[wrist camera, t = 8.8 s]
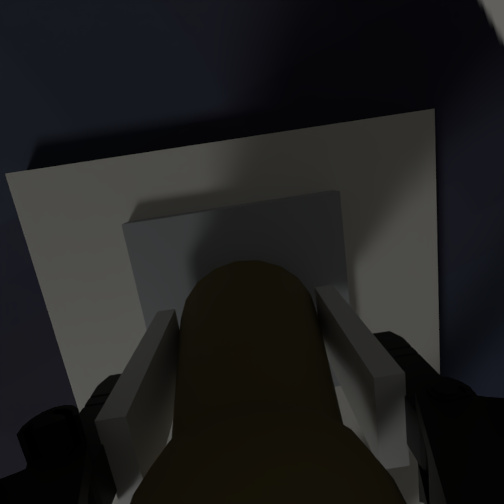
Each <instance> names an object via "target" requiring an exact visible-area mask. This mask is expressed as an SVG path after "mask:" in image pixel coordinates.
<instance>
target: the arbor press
mask: <svg viewBox="0 0 504 504" xmlns="http://www.w3.org/2000/svg"><path fill="white" fill-rule="evenodd" d="M5 175H6V178H7V181H8V184H9V188H10V191H11V194H12V197H13V201H14V204H15V207H16V210H17V213H18V217H19V220H20V223H21V226H22V229H23V233H24V236H25V239H26V242H27V246H28V249H29V252H30V255H31V258H32V262H33V265H34V268H35V271H36V274H37V278H38V281H39V284H40V287H41V291H42V294H43V297H44V300H45V303H46V307H47V310H48V313H49V316H50V319H51V323H52V326H53V329H54V332H55V335H56V339H57V342H58V345H59V348H60V352H61V355H62V358H63V361H64V364H65V368H66V371H67V374H68V377H69V380H70V384H71V387H72V390H73V393H74V397H75V400H76V403H77V406H78V409H79V413H80V412H81V410H82V409H83V408H84V407H85V404H86V402H87V401H88V399H89V398H91V395H92V393H93V392H94V390H95V389H96V387H97V386H98V385H99V384H100V383H101V382H102V381H104V380H105V379H106V378H107V377H108V376H109V375H115V374H122V372H123V371H124V369H125V367H126V365H127V364H128V362H129V360H130V358H131V357H132V355H133V353H134V351H135V350H136V348H137V346H138V345H139V343H140V341H141V339H142V338H143V336H144V334H145V332H146V331H147V329H148V327H149V325H150V324H151V322H152V320H153V318H154V317H155V315H156V313H157V311H164V310H170V309H175V311H176V315H177V320H178V325H179V329H180V321H181V316H182V312H183V308H184V305H185V301H186V299H187V297H188V296H189V294H190V293H191V291H192V290H193V288H194V287H195V285H196V284H197V282H198V281H200V280H201V279H202V278H204V277H205V276H206V275H207V274H209V273H210V272H211V271H213V270H214V269H216V268H218V267H221V266H224V265H227V264H229V263H232V262H235V261H251V260H260V261H263V262H267V263H271V264H274V265H278V266H281V267H282V268H284V269H285V270H287V271H288V272H290V273H291V274H293V275H294V276H296V277H298V278H299V280H300V281H301V282H302V284H303V285H304V286H305V287H306V289H307V290H308V291H309V293H310V294H311V296H312V299H313V302H314V305H315V308H316V311H317V304H316V295H315V287H320V286H326V285H333V286H334V287H335V289H336V290H337V291H338V292H339V294H340V295H341V296H342V297H343V298H344V300H345V301H346V302H347V303H348V304H349V306H350V307H351V308H352V309H353V310H354V312H355V313H356V314H357V315H358V317H359V318H360V319H361V320H362V321H363V323H364V324H365V325H366V326H367V327H368V329H369V330H370V331H371V332H372V333H380V332H386V331H391V332H393V333H395V334H397V335H399V336H401V337H403V338H404V339H405V340H406V341H407V342H408V343H409V344H410V345H411V347H413V348H414V349H415V350H416V351H417V352H418V354H420V355H421V356H422V357H423V358H424V359H425V360H426V361H427V362H428V363H429V364H430V365H431V366H432V367H433V368H434V369H435V370H436V371H437V373H438V374H439V375H440V351H439V301H438V251H437V202H436V152H435V109H428V110H422V111H415V112H409V113H402V114H395V115H389V116H382V117H376V118H369V119H362V120H356V121H349V122H343V123H336V124H330V125H323V126H316V127H310V128H303V129H297V130H290V131H283V132H277V133H270V134H264V135H257V136H251V137H244V138H237V139H231V140H224V141H218V142H211V143H204V144H198V145H191V146H185V147H178V148H172V149H165V150H158V151H152V152H145V153H139V154H132V155H125V156H119V157H112V158H106V159H99V160H92V161H86V162H79V163H73V164H66V165H60V166H53V167H46V168H40V169H33V170H27V171H20V172H13V173H7V174H5ZM317 315H318V313H317ZM328 361H329V360H328ZM329 366H330V370H331V374H332V378H333V383H334V387H335V391H336V395H337V399H338V404H339V408H340V412H341V416H342V421H343V425H345V426H347V427H348V428H350V429H352V431H353V432H354V433H355V434H356V435H357V436H358V437H359V438H360V440H361V441H362V442H363V443H364V444H365V445H366V446H367V448H368V449H369V450H370V451H371V449H370V447H369V445H368V442H367V440H366V438H365V436H364V434H363V432H362V430H361V428H360V426H359V423H358V421H357V419H356V417H355V415H354V413H353V411H352V409H351V407H350V405H349V402H348V400H347V398H346V396H345V394H344V392H343V390H342V388H341V386H340V384H339V381H338V379H337V377H336V375H335V373H334V371H333V369H332V367H331V365H330V362H329ZM172 426H173V422H172V425H171V429H170V433H169V437H168V441H167V444H168V443H169V441H170V440H171V439H172ZM167 444H166V445H167ZM371 452H372V451H371ZM386 470H387V471H388V472H389V474H390V475H391V476H392V477H393V479H394V480H395V482H396V484H397V486H398V488H399V490H400V492H401V494H402V496H403V497H404V499H405V501H406V503H407V504H424V503H422V502H419V481H418V461H417V460H416V458H415V457H414V455H413V453H412V452H411V450H410V448H409V466H403V467H397V468H390V469H386ZM112 504H119V501H118V498H117V495H115V497H114V500H113V503H112Z"/></svg>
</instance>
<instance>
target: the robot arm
mask: <svg viewBox="0 0 504 504" xmlns="http://www.w3.org/2000/svg"><path fill="white" fill-rule="evenodd" d="M315 295H316V304H317V313H318V319H319V323H320V327H321V332H322V336H323V340H324V344H325V349H326V353H327V357H328V360H329V362H330V365H331V367H332V369H333V371H334V373H335V375H336V377H337V379H338V381H339V384H340V386H341V388H342V390H343V392H344V394H345V396H346V398H347V400H348V402H349V405H350V407H351V409H352V411H353V413H354V415H355V417H356V419H357V421H358V423H359V426H360V428H361V430H362V432H363V434H364V436H365V438H366V440H367V442H368V445H369V447H370V449H371V451H372V453H373V455H374V456H375V457H376V458H377V459H378V461H379V462H380V463H381V464H382V465H383V466H384V468H385V469H390V468H397V467H403V466H409V448H410V450H411V452H412V453H413V455H414V457H415V458H416V460H417V461H418V481H419V502H422V503H424V504H504V398H494V397H484V396H477V395H476V393H475V392H474V391H473V390H472V389H471V388H470V387H469V386H468V385H466V384H464V383H463V382H461V381H458V380H455V379H452V378H449V377H441V376H440V375H439V374H438V373H437V371H436V370H435V369H434V368H433V367H432V366H431V365H430V364H429V363H428V362H427V361H426V360H425V359H424V358H423V357H422V356H421V355H420V354H418V352H417V351H416V350H415V349H414V348H413V347H411V345H410V344H409V343H408V342H407V341H406V340H405V339H404V338H403V337H401V336H399V335H397V334H395V333H393V332H391V331H386V332H380V333H372V332H371V331H370V330H369V329H368V327H367V326H366V325H365V324H364V323H363V321H362V320H361V319H360V318H359V317H358V315H357V314H356V313H355V312H354V310H353V309H352V308H351V307H350V306H349V304H348V303H347V302H346V301H345V300H344V298H343V297H342V296H341V295H340V294H339V292H338V291H337V290H336V289H335V287H334V286H333V285H326V286H320V287H315ZM179 334H180V329H179V325H178V320H177V315H176V311H175V309H170V310H164V311H157V313H156V315H155V317H154V318H153V320H152V322H151V324H150V325H149V327H148V329H147V331H146V332H145V334H144V336H143V338H142V339H141V341H140V343H139V345H138V346H137V348H136V350H135V351H134V353H133V355H132V357H131V358H130V360H129V362H128V364H127V365H126V367H125V369H124V371H123V372H122V374H115V375H109V376H108V377H107V378H106V379H105V380H104V381H102V382H101V383H100V384H99V385H98V386H97V387H96V389H95V390H94V392H93V393H92V395H91V398H89V399H88V401H87V402H86V404H85V407H84V408H83V409H82V410H81V412H80V413H79V410H78V408H76V407H75V406H73V405H63V406H58V407H54V408H52V409H49V410H47V411H44V412H42V413H40V414H39V415H37V416H35V417H34V418H32V419H31V420H29V421H28V422H27V423H26V424H25V425H24V426H22V428H21V429H20V431H19V432H18V433H17V437H18V440H19V443H20V445H21V448H22V451H23V453H24V456H25V459H26V462H27V467H26V469H25V470H22V471H20V472H17V473H15V474H12V475H10V476H7V477H4V478H2V479H0V504H112V503H113V500H114V497H115V495H117V498H118V501H119V504H130V502H131V499H132V496H133V494H134V492H135V491H136V489H137V488H138V486H139V485H140V483H141V481H142V480H143V478H144V477H145V475H146V474H147V472H148V470H149V469H150V467H151V466H152V465H153V463H154V462H155V461H156V459H157V458H158V456H159V455H160V454H161V452H162V451H163V449H164V448H165V447H166V444H167V441H168V437H169V433H170V429H171V425H172V422H173V412H174V399H175V386H176V373H177V360H178V347H179Z"/></svg>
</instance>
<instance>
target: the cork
mask: <svg viewBox="0 0 504 504" xmlns="http://www.w3.org/2000/svg"><path fill="white" fill-rule="evenodd" d="M130 504H407V503H406V501H405V499H404V497H403V496H402V494H401V492H400V490H399V488H398V486H397V484H396V482H395V480H394V479H393V477H392V476H391V475H390V474H389V472H388V471H387V470H386V469H385V468H384V466H383V465H382V464H381V463H380V462H379V461H378V459H377V458H376V457H375V456H374V455H373V453H372V452H371V451H370V450H369V449H368V448H367V446H366V445H365V444H364V443H363V442H362V441H361V440H360V438H359V437H358V436H357V435H356V434H355V433H354V432H353V431H352V429H350V428H348V427H347V426H345V425H343V421H342V416H341V412H340V408H339V404H338V399H337V395H336V391H335V387H334V383H333V378H332V374H331V370H330V366H329V361H328V357H327V353H326V349H325V344H324V340H323V336H322V332H321V327H320V323H319V319H318V315H317V311H316V308H315V305H314V302H313V299H312V296H311V294H310V293H309V291H308V290H307V289H306V287H305V286H304V285H303V284H302V282H301V281H300V280H299V278H298V277H296V276H294V275H293V274H291V273H290V272H288V271H287V270H285V269H284V268H282V267H281V266H278V265H274V264H271V263H267V262H263V261H260V260H251V261H235V262H232V263H229V264H227V265H224V266H221V267H218V268H216V269H214V270H213V271H211V272H210V273H209V274H207V275H206V276H205V277H204V278H202V279H201V280H200V281H198V282H197V284H196V285H195V287H194V288H193V290H192V291H191V293H190V294H189V296H188V297H187V299H186V301H185V305H184V308H183V312H182V316H181V321H180V334H179V347H178V360H177V373H176V386H175V399H174V412H173V426H172V439H171V440H170V441H169V443H168V444H167V445H166V447H165V448H164V449H163V451H162V452H161V454H160V455H159V456H158V458H157V459H156V461H155V462H154V463H153V465H152V466H151V467H150V469H149V470H148V472H147V474H146V475H145V477H144V478H143V480H142V481H141V483H140V485H139V486H138V488H137V489H136V491H135V492H134V494H133V496H132V499H131V502H130Z"/></svg>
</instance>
